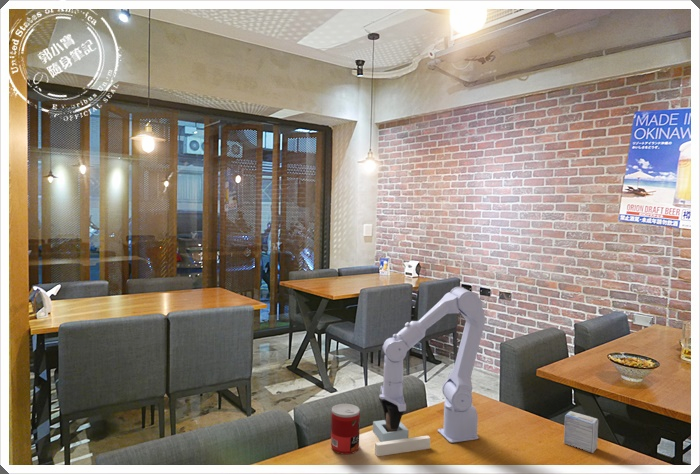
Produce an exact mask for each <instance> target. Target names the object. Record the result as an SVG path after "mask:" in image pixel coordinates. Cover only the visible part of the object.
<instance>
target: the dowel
mask: <svg viewBox="0 0 700 474" xmlns="http://www.w3.org/2000/svg"><path fill="white" fill-rule="evenodd" d="M386 431H387V432H392V431H397V429H391V426H390V417H389V412H387V413H386Z"/></svg>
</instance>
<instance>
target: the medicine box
mask: <svg viewBox="0 0 700 474" xmlns="http://www.w3.org/2000/svg"><path fill="white" fill-rule="evenodd" d="M598 433H599V419H598V418H596V417H593V416H590V415H586V414H582V413H578V412H576V411H575V412H574V411H571V410H570V411H568V412H567V413H566V414H565V415H564V433H563V434H564V435H563V444H564V443H565V445H567V444H568V446H570V445H571V447H573V446H574V448H576V447H577V449H579V448H580V450H582V449H583V450H582V451H586V452H588V453H591V454H594V453H595V451H596V450H597V449H598V437H599V436H598Z"/></svg>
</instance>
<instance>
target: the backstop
mask: <svg viewBox="0 0 700 474" xmlns="http://www.w3.org/2000/svg"><path fill="white" fill-rule="evenodd" d="M428 449H431V437H430V436H429V435H428V434H427V435H421V436H414V437H408V438H405V439H398V440H391V441H384V442H381V441H377V442H374V454H375V456H376V457H381V456H383V457H384V456H389V455H396V454H402V453H408V452H416V451H423V450H428Z"/></svg>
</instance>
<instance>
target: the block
mask: <svg viewBox="0 0 700 474" xmlns="http://www.w3.org/2000/svg"><path fill="white" fill-rule="evenodd" d="M409 431H410V430H409V429H408V428H407V426H405V425H404V424H403V423H402V421H400V424H399V427H398V429H397V431H392V432H387V431H386V421H385V419H382V420H373V421H372V432H373V433H374V435H375V436H376V437H377V439H378V440H379V442H384V441H391V440H398V439H405V438H409Z"/></svg>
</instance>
